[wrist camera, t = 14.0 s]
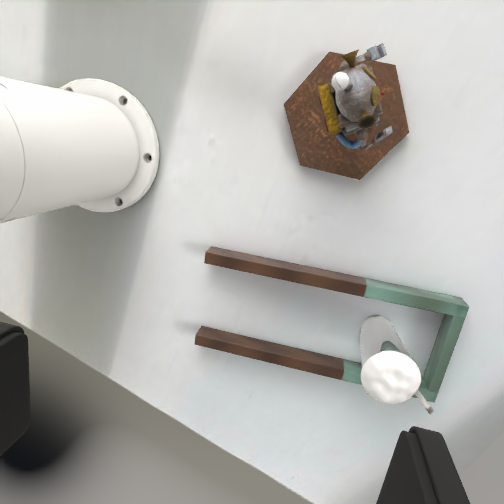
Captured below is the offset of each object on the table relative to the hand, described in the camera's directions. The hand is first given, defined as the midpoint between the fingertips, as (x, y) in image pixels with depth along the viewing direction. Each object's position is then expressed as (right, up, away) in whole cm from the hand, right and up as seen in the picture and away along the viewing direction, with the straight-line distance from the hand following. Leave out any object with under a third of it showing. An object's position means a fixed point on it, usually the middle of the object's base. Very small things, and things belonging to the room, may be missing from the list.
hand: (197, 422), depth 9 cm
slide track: (+8, -3, +29) cm, 30 cm away
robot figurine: (+9, +16, +24) cm, 30 cm away
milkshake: (+14, -4, +28) cm, 32 cm away
